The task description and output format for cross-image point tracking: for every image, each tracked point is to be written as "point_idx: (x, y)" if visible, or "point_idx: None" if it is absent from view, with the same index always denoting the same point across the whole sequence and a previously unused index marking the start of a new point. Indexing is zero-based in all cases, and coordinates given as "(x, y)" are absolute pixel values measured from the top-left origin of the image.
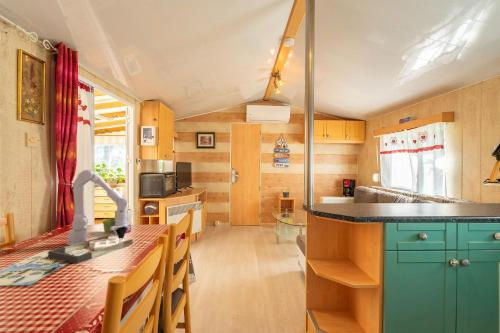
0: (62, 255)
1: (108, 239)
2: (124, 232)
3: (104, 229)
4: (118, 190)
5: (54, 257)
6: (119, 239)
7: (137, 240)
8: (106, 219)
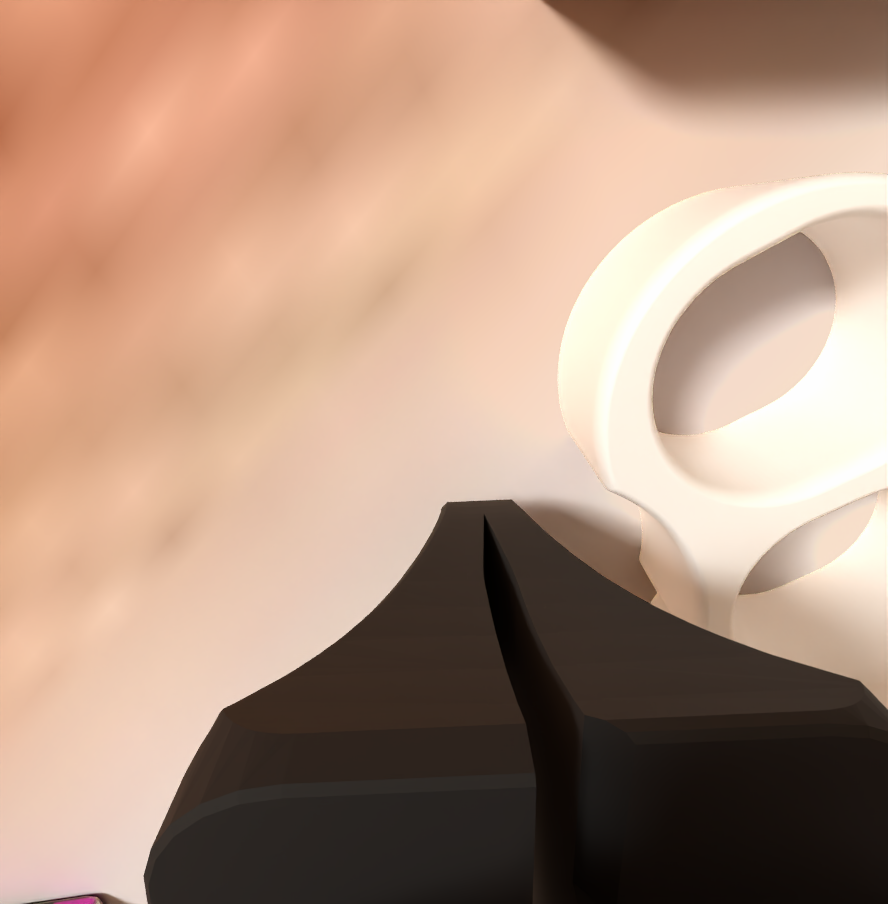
0: None
1: (869, 688)
2: (441, 618)
3: None
4: None
5: None
6: (678, 464)
7: (69, 190)
8: None
